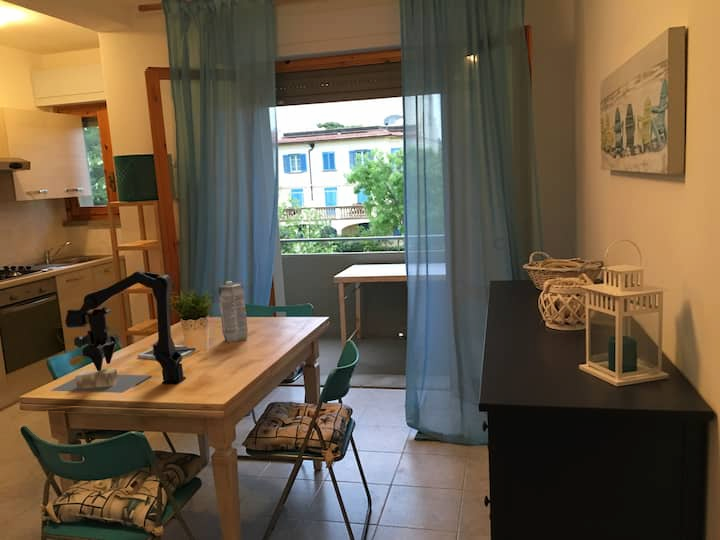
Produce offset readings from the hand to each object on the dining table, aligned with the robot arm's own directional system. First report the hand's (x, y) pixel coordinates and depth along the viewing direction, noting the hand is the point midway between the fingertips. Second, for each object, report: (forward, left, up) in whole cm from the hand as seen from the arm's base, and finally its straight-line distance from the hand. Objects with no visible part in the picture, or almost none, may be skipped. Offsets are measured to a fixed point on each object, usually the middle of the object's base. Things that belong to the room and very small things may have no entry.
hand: (103, 367), depth 220 cm
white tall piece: (-3, -1, -4) cm, 5 cm away
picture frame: (-3, -39, -8) cm, 40 cm away
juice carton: (-23, -62, -7) cm, 66 cm away
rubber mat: (+3, -2, -7) cm, 8 cm away
